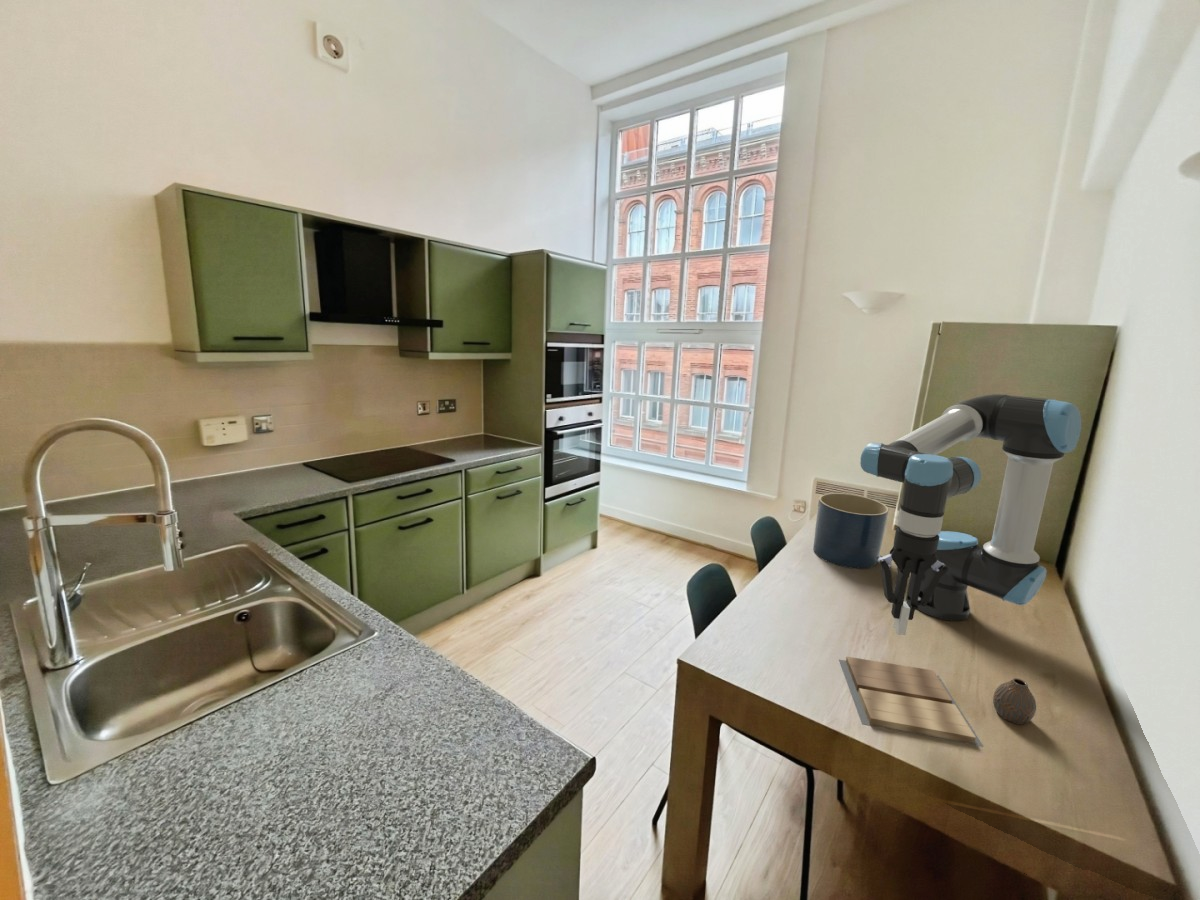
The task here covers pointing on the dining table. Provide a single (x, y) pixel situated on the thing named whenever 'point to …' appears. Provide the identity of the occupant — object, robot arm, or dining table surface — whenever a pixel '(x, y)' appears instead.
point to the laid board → (897, 679)
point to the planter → (849, 530)
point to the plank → (915, 715)
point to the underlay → (866, 722)
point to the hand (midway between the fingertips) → (899, 630)
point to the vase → (1015, 701)
